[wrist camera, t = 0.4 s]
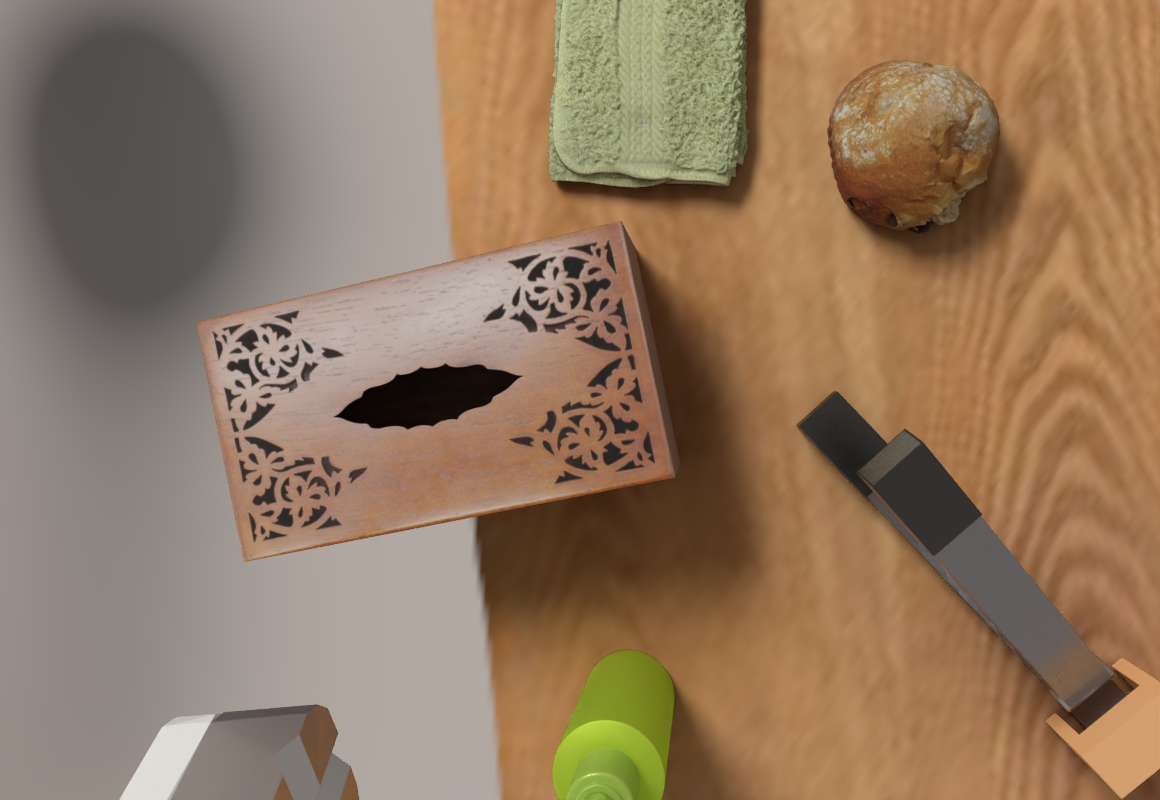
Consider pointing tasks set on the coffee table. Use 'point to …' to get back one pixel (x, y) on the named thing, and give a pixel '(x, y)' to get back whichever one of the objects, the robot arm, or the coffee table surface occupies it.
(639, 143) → the washcloth
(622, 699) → the soap dispenser
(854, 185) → the bread roll
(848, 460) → the tongs lower arm
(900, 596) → the coffee table surface
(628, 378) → the tissue box cover
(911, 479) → the tongs upper arm
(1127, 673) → the tan hook block
